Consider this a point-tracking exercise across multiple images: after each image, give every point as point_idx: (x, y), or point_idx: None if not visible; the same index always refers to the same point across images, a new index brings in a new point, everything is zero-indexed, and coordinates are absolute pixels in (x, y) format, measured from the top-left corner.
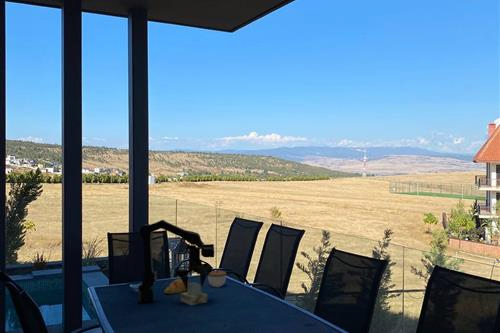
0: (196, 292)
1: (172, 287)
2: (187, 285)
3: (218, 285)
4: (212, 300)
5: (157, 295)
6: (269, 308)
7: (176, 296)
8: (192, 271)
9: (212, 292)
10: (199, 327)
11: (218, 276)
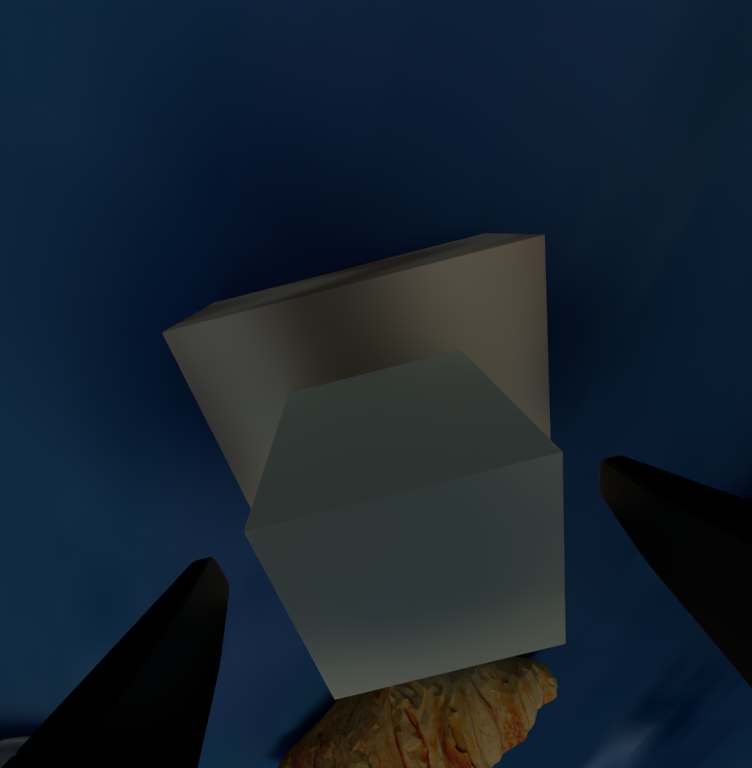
0: (382, 387)
1: (491, 724)
2: (684, 505)
3: (4, 755)
4: (127, 353)
5: (591, 643)
6: None
7: None
8: None
9: (96, 625)
10: None
11: None
